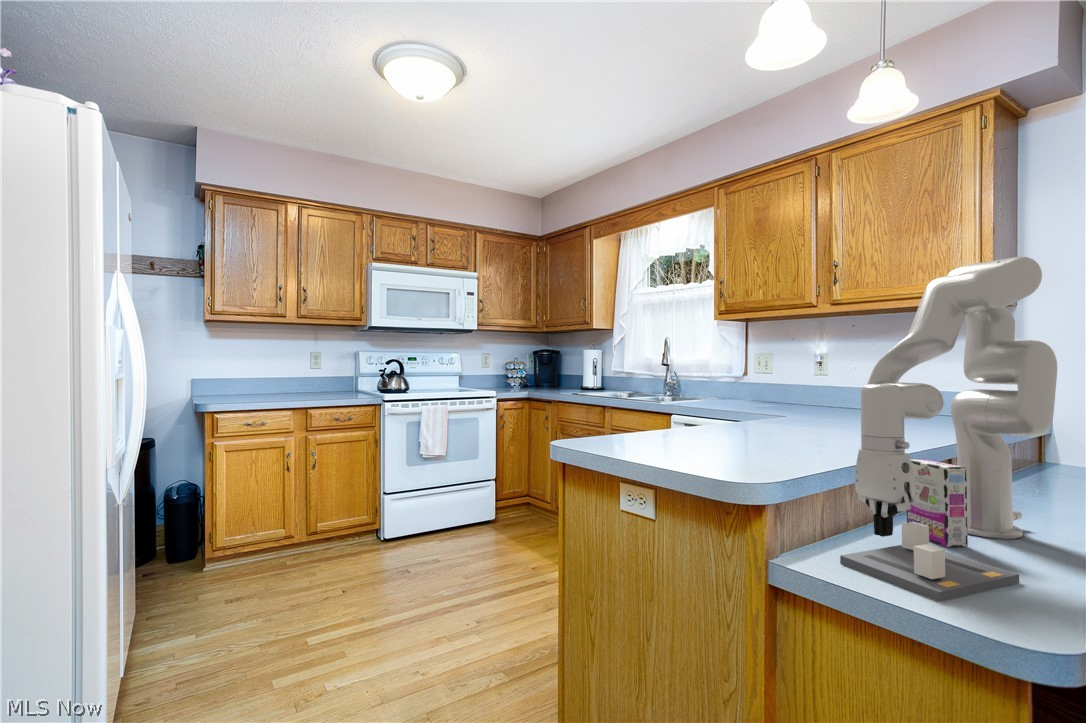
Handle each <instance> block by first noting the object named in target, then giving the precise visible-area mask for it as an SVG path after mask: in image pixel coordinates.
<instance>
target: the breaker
mask: <svg viewBox="0 0 1086 723" xmlns="http://www.w3.org/2000/svg"><path fill="white" fill-rule="evenodd" d="M945 552H946V550H945V548H942V547H937V546H935V545H932V544H929V545H928V544H924V545H918V546H914V573H916V574H919V575H921V576H924V577H927V578H930V579H936V578H941V577H945Z"/></svg>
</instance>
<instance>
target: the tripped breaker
mask: <svg viewBox="0 0 1086 723" xmlns="http://www.w3.org/2000/svg"><path fill="white" fill-rule="evenodd" d="M924 544H928V545H930V541H929V526H927V525H923V524H920V523H916V522H909V523H907V522H904V523H901V545H902V547H904V548H907V549H911V550H914V546H918V545H924Z"/></svg>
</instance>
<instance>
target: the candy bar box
mask: <svg viewBox="0 0 1086 723" xmlns="http://www.w3.org/2000/svg"><path fill="white" fill-rule="evenodd" d="M910 460H911V464H912V469H913V475H914V484H915V501H914V502H911V503H910V506H911V510H910V511H906V523H909V522H916V523H920V524H923V525H927V526H929V542H931V543H933V544H937V545H940V546H942V547H945V548H968V545H969V544H968V543H969V540H968V537H969V536H968V533H967V478H966V467H961V466H957V464H951V463H946V462H945V463H944V462H939V461H937V460H936V461H935V460H930V459H922V458H920V459H919V458H918V459H915V458H914V459H911V458H910Z"/></svg>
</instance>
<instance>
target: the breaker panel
mask: <svg viewBox="0 0 1086 723" xmlns="http://www.w3.org/2000/svg"><path fill="white" fill-rule="evenodd" d="M839 557H840V558H839V560H840V564H841V565H844V566H846V567H849V568H851V569H854V570H856V571H859V572H861V573H865V574H867V575H869V576H872V577H875V578H877V579H879V580H882V581H885V582H888V583H890V584H893V585H896V586H897V587H900V588H903V589H904V590H905V589H906V590H908V591H910V592H914V593H916V594H918V595H921V596H923V597H925V598H929V599H931V600H934V601H936V602H945V601H947V600H953V599H958V598H961V597H966V596H970V595H973V594H979V593H982V592H988V591H991V590H996V589H999V588H1004V587H1008V586H1013V585H1017V584H1020V574H1019V573H1017V572H1012V571H1009V570H1007V569H1002V568H1000V567H996V566H993V565H990V564H986V563H984V562H981V561H976V560H973V559H970V558H967V557H963V556H960V555H956V554H953V553H949V552H946V551H945V577H941V578H936V579H930V578H927V577H924V576H921V575H919V574H916V573H914V550H911V549H907V548H904V547H902V544H899V545H893V546H887V547H881V548H875V549H869V550H863V551H858V552H852V553H845V554H841V555H840V556H839Z"/></svg>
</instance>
